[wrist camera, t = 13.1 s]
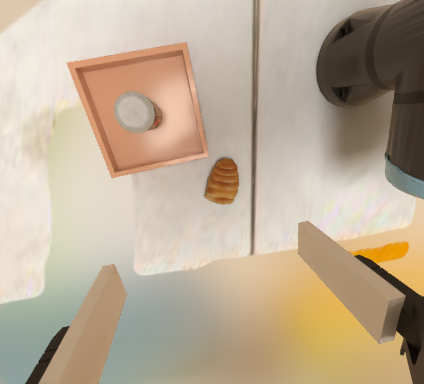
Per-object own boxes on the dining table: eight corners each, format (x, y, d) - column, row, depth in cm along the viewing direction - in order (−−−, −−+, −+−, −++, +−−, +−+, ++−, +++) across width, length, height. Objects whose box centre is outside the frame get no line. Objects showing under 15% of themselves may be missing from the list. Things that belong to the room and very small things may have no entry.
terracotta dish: (185, 50, 33) (186, 42, 29) (206, 153, 39) (208, 156, 36) (78, 69, 31) (66, 62, 28) (117, 173, 38) (111, 178, 34)
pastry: (210, 155, 39) (214, 158, 36) (242, 160, 41) (248, 163, 37) (203, 198, 42) (205, 205, 39) (232, 201, 44) (237, 208, 40)
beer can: (139, 132, 35) (120, 137, 24) (129, 104, 33) (104, 95, 22) (165, 126, 35) (159, 128, 24) (157, 97, 33) (145, 85, 22)
